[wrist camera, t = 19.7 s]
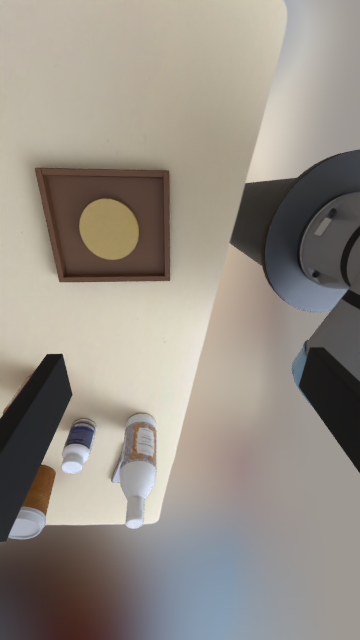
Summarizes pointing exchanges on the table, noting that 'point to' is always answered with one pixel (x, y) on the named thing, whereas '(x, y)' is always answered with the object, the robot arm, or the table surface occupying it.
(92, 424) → the pill bottle
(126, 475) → the bath foam
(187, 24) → the table surface
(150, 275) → the tray
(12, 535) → the disposable coffee cup
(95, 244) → the lid
